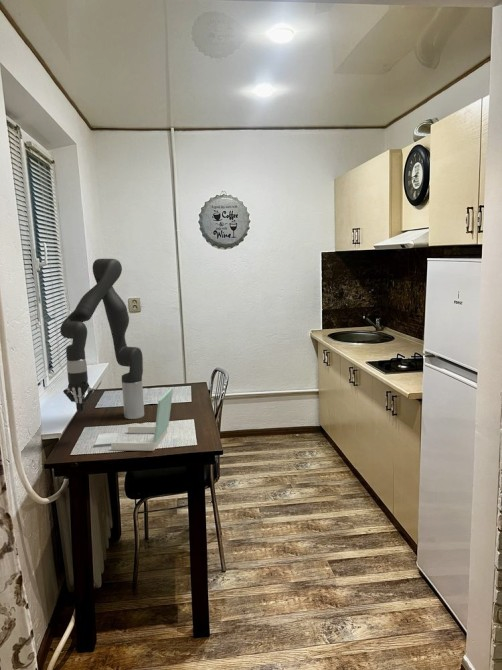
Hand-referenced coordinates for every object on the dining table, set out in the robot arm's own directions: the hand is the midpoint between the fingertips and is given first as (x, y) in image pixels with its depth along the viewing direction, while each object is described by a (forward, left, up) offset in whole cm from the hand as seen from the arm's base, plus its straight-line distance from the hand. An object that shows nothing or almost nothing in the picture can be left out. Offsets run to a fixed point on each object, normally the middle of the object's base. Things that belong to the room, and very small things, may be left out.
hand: (80, 411), depth 199 cm
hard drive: (0, +10, -13) cm, 17 cm away
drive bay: (0, +25, -13) cm, 27 cm away
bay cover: (0, +34, -1) cm, 34 cm away
